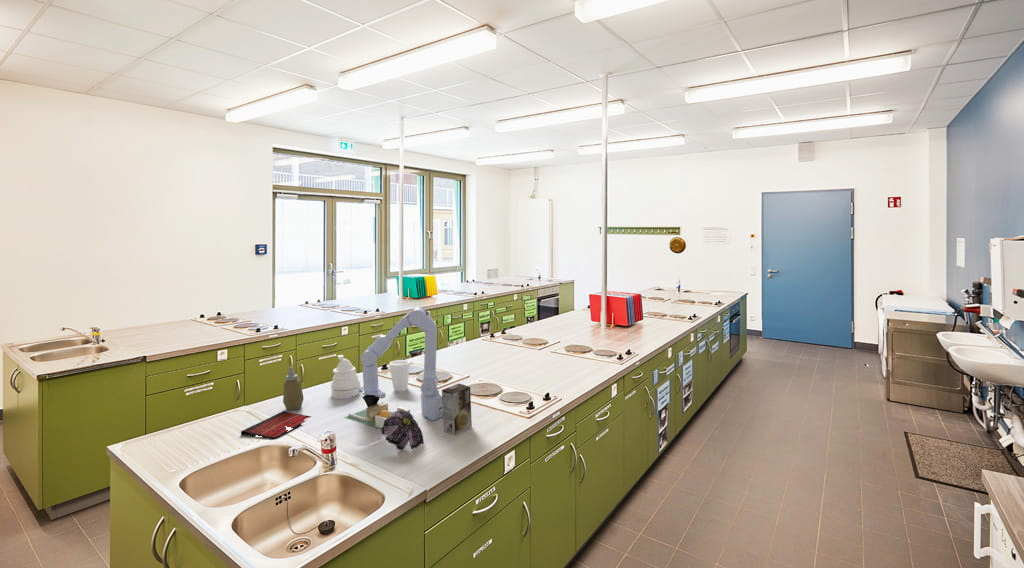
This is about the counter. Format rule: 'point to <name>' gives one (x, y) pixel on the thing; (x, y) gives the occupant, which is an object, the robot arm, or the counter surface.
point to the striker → (375, 410)
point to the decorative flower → (402, 430)
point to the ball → (384, 414)
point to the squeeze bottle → (292, 391)
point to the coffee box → (456, 409)
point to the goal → (380, 420)
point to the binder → (276, 425)
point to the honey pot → (344, 380)
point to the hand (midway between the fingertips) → (372, 412)
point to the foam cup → (399, 374)
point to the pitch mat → (363, 418)
